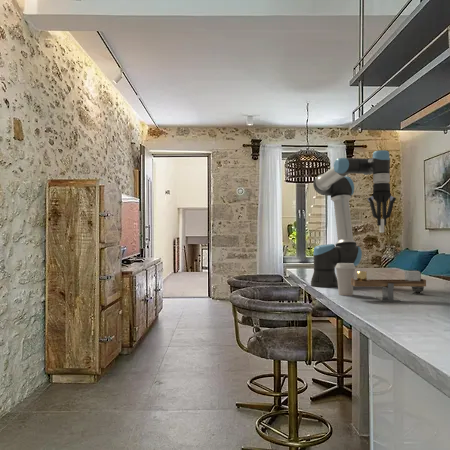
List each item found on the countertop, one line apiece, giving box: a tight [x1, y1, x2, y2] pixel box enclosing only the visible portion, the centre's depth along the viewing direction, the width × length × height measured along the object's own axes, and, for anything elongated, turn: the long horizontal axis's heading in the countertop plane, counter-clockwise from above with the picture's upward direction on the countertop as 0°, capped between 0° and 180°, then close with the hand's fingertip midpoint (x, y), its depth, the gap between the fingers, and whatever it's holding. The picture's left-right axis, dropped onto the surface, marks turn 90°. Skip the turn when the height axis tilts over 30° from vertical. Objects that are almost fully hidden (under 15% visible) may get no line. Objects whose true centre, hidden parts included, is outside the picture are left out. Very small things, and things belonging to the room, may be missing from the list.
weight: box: [356, 270, 368, 281], centre depth 182 cm, size 4×4×5 cm
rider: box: [404, 270, 421, 281], centre depth 180 cm, size 5×5×5 cm
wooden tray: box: [351, 278, 427, 287], centre depth 180 cm, size 7×30×3 cm, turn 85°
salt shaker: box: [410, 269, 425, 296], centre depth 199 cm, size 6×6×12 cm
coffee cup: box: [335, 263, 357, 297], centre depth 198 cm, size 10×10×15 cm
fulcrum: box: [375, 283, 401, 303], centre depth 180 cm, size 9×8×8 cm
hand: (381, 232), depth 195 cm, fingers closed
